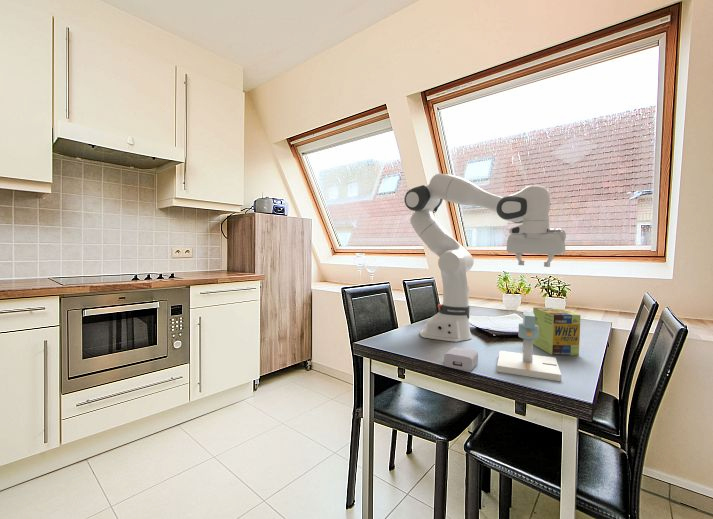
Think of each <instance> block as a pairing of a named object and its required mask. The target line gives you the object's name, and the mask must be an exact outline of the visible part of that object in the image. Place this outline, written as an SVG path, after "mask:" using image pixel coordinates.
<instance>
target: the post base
mask: <svg viewBox="0 0 713 519" xmlns="http://www.w3.org/2000/svg"><path fill="white" fill-rule="evenodd" d="M496 372H497V373H498V372H499V373H503V374H509V375H510V374H511V375H518V376H524V377H531V378H537V379H542V380H543V379H544V380H550V381H556V382H557V381H558V382H562V373H561V369H560V367H559V364H558V362H557V358H556V357H553V356H545V355H538V354H534V345H533V339H524V338H522V352H513V351H505V350H499V353H498V360H497V365H496Z"/></svg>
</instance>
